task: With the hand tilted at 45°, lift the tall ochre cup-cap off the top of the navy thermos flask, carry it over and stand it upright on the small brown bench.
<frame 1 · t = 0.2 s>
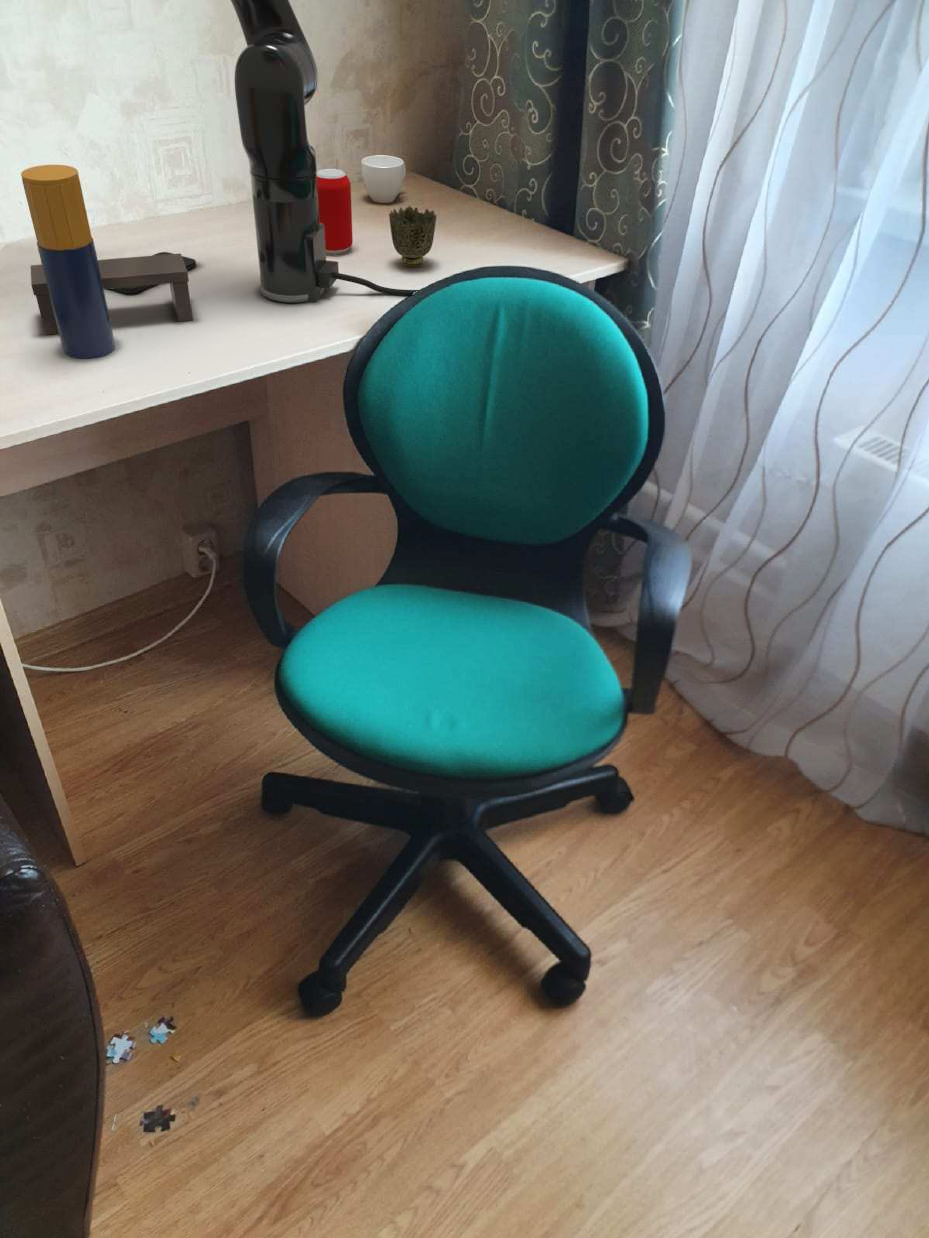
phone: (148, 276, 146), on the table
cap: (65, 241, 117), point 14 cm above the table, touching flask
beverage can: (334, 250, 158), on the table
cup 2: (412, 266, 154), on the table
flask: (89, 348, 126), on the table
small brown bench: (119, 317, 134), on the table
cup: (387, 199, 180), on the table
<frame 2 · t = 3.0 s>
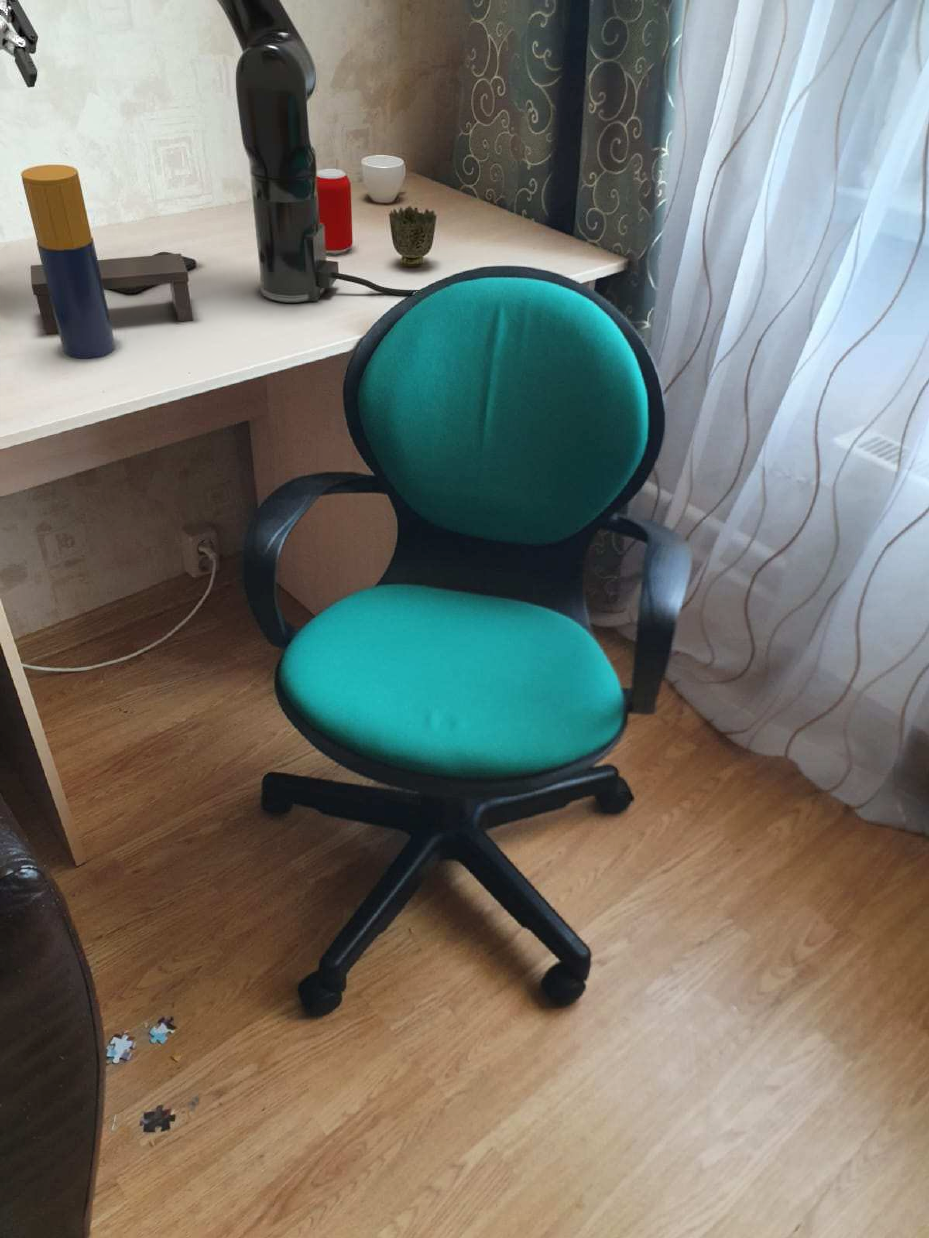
nothing on the table moved.
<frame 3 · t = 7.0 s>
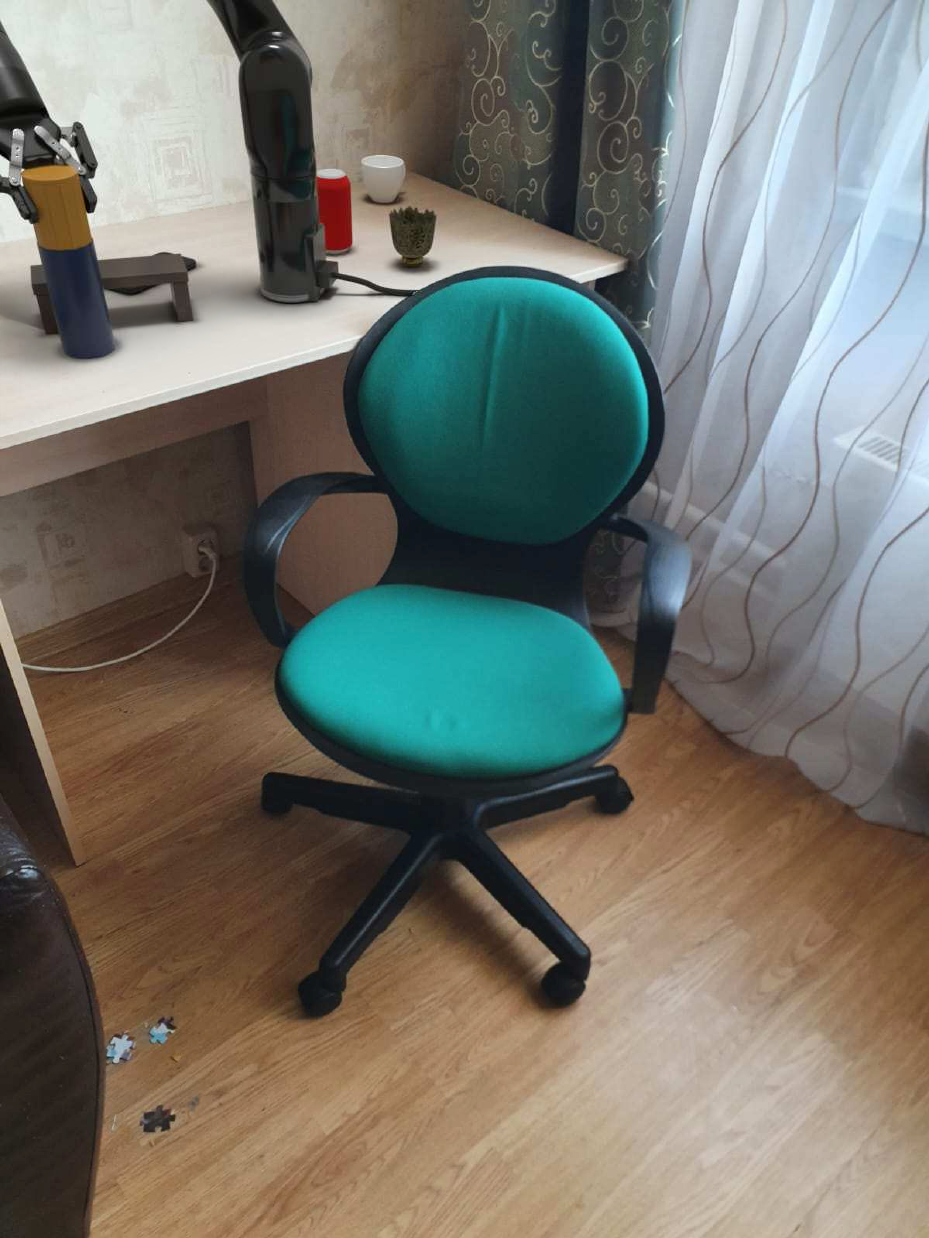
hand: (64, 214, 114), 18 cm above the table, tool tilted 45°, fingers closed on cap, 6 cm apart
cap: (65, 241, 117), point 14 cm above the table, touching flask, gripper
everything else where it was.
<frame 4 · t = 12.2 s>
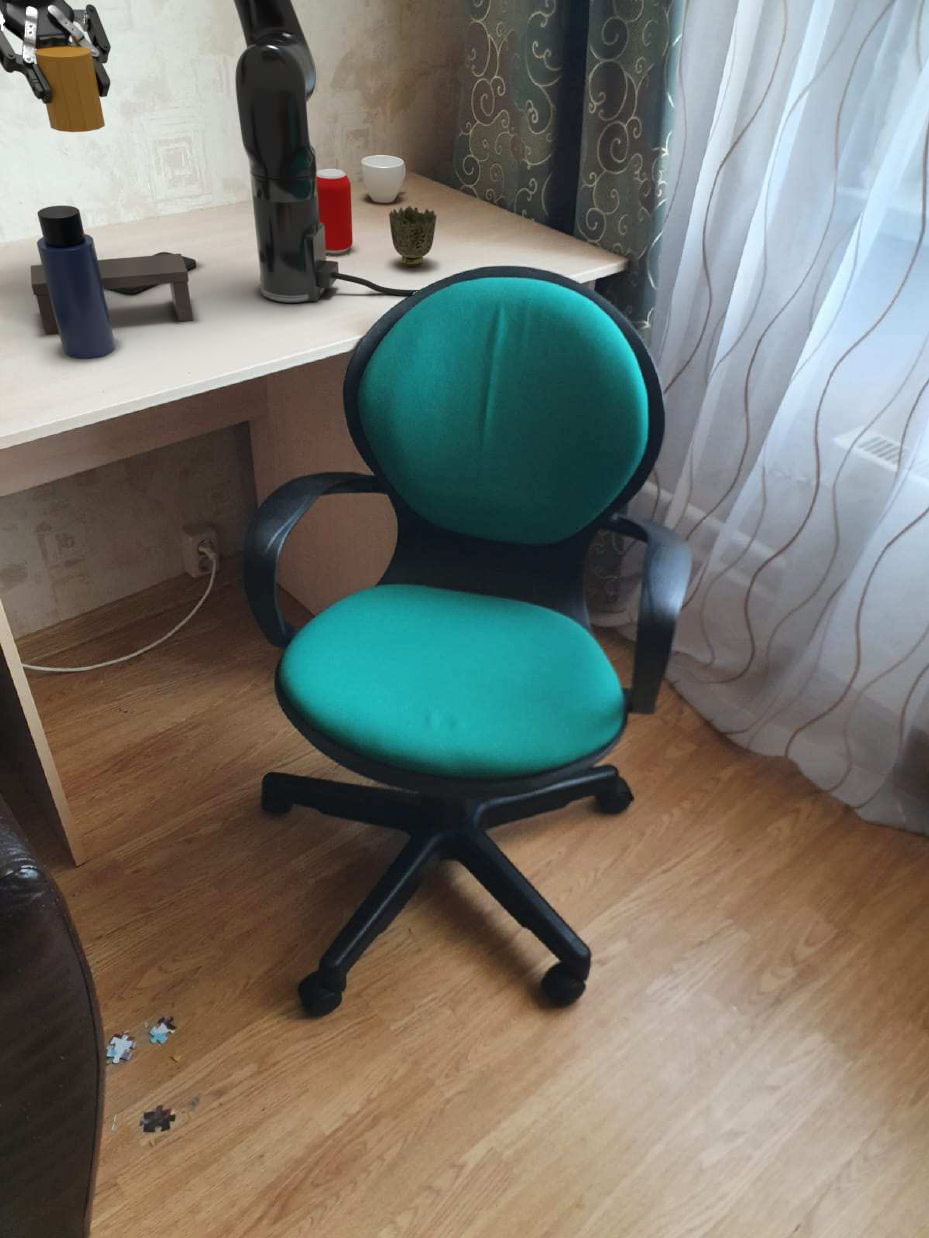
hand: (77, 95, 114), 28 cm above the table, tool tilted 45°, fingers closed on cap, 6 cm apart
cap: (77, 125, 117), point 25 cm above the table, touching gripper
everything else where it was.
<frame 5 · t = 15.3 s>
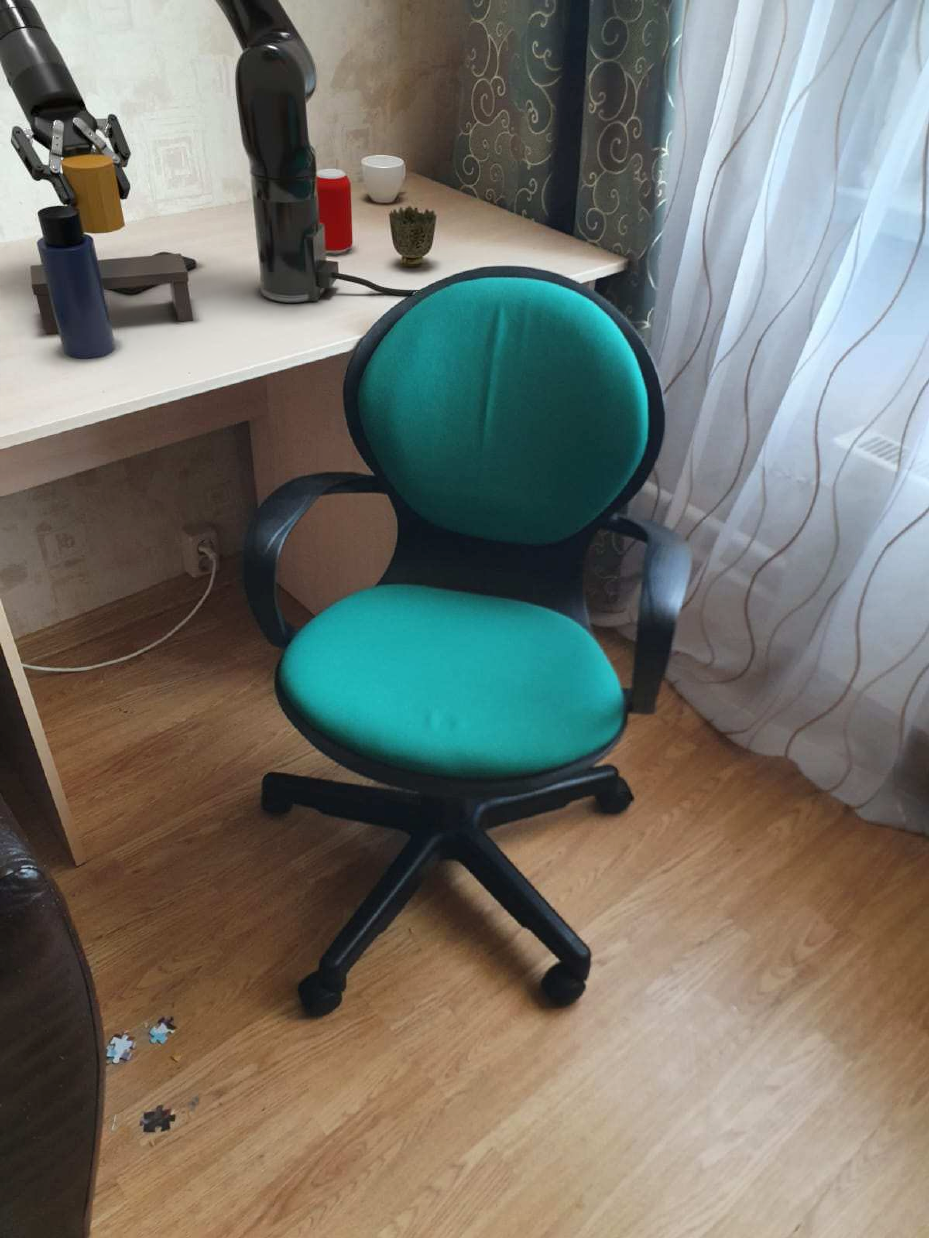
hand: (99, 200, 123), 16 cm above the table, tool tilted 45°, fingers closed on cap, 6 cm apart
cap: (99, 225, 126), point 13 cm above the table, touching gripper
everything else where it was.
when the fingers open (11 cm above the table, at t = 17.5 s): cap stays where it is, resting on small brown bench.
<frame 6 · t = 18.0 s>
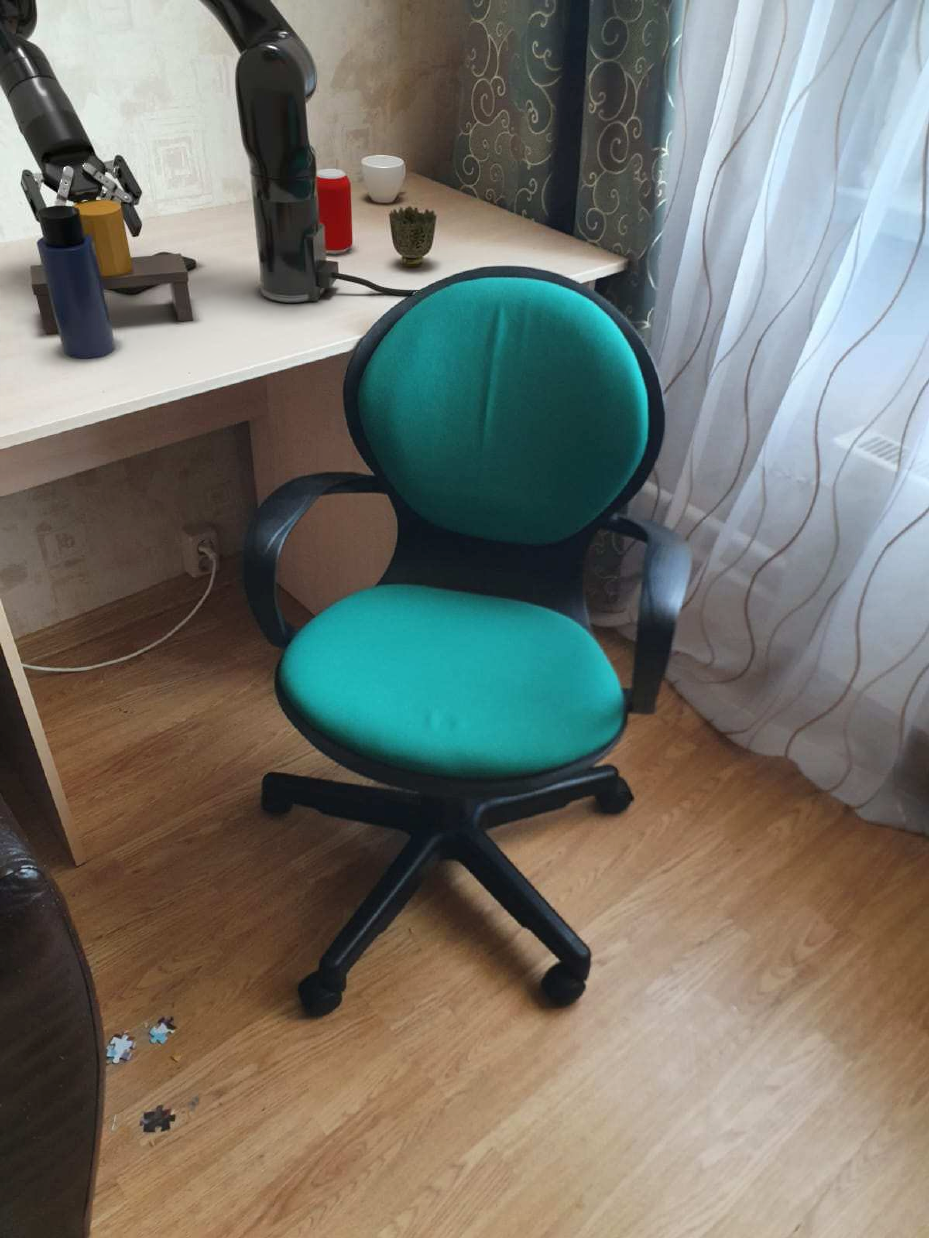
hand: (107, 240, 126), 11 cm above the table, tool tilted 45°, fingers open, 8 cm apart
cap: (108, 268, 130), point 7 cm above the table, touching small brown bench
everything else where it was.
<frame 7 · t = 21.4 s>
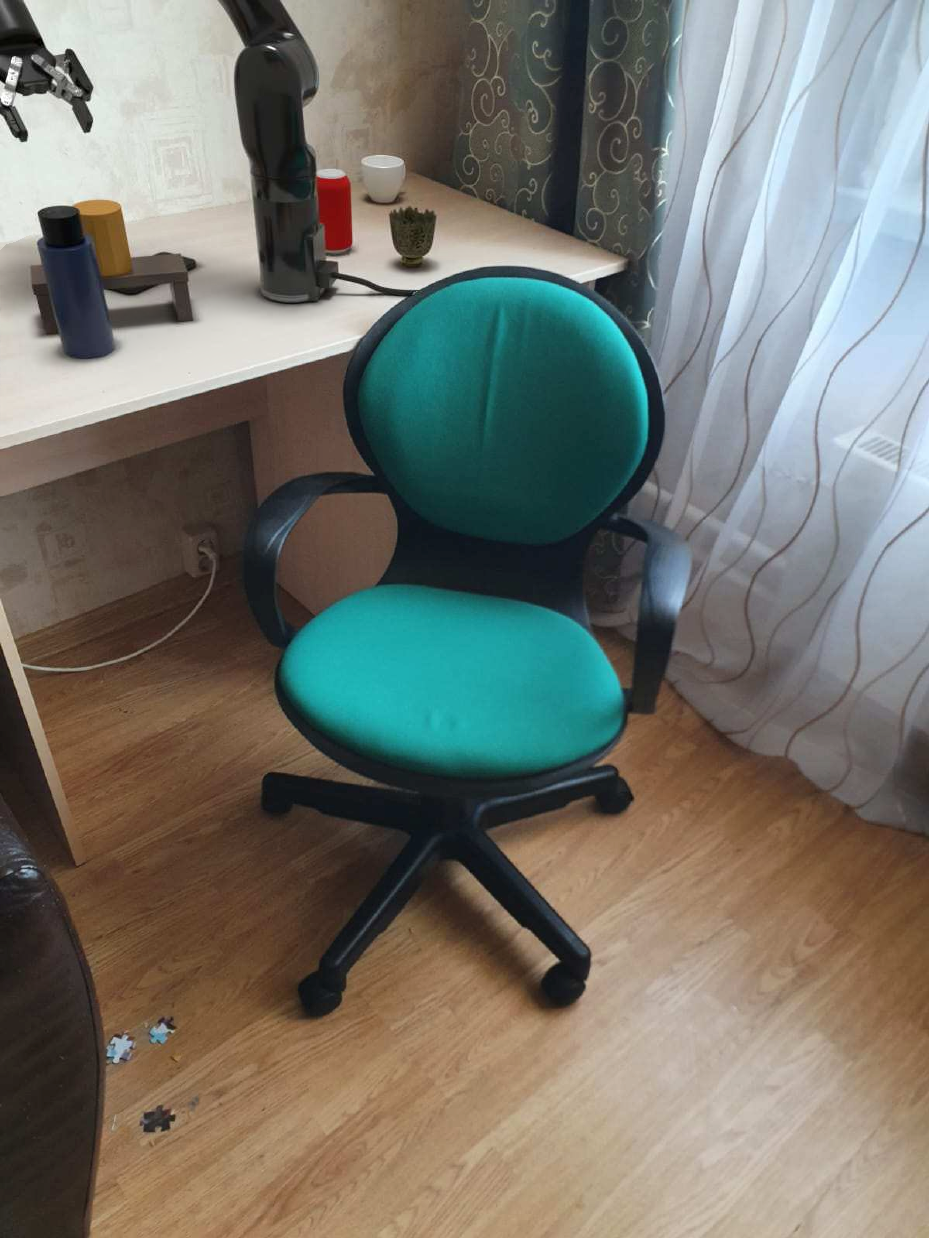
hand: (57, 134, 125), 22 cm above the table, tool tilted 45°, fingers open, 8 cm apart
nothing on the table moved.
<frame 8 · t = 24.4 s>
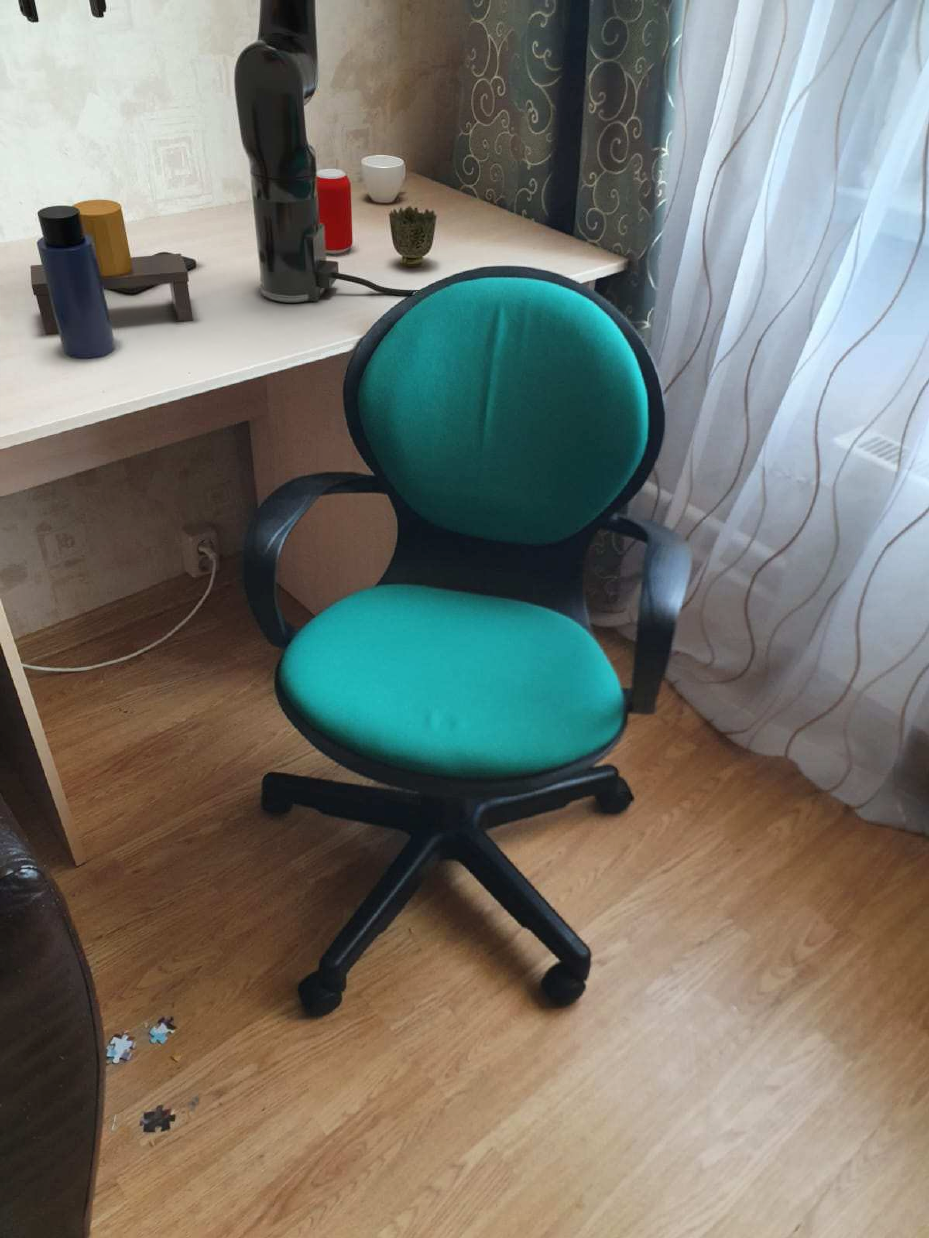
hand: (66, 19, 121), 34 cm above the table, tool pointing down, fingers open, 8 cm apart
nothing on the table moved.
at the end: cap inside the target area on the small brown bench (0.1 cm from its centre), point 7.0 cm above the small brown bench's base; cap tilted 0°; the gripper is holding nothing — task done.
